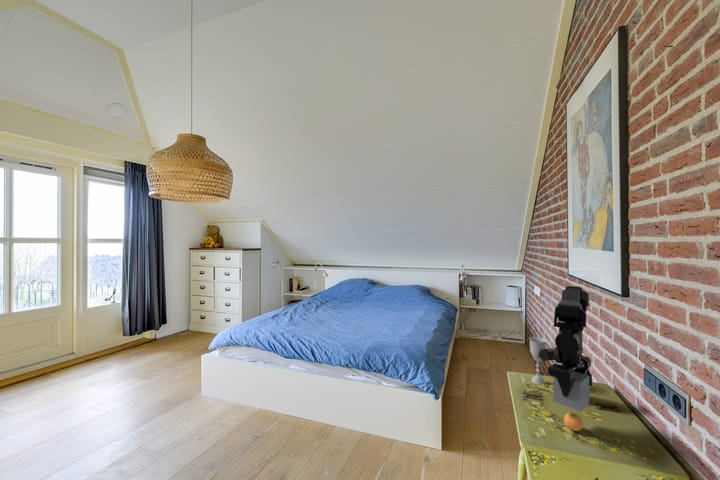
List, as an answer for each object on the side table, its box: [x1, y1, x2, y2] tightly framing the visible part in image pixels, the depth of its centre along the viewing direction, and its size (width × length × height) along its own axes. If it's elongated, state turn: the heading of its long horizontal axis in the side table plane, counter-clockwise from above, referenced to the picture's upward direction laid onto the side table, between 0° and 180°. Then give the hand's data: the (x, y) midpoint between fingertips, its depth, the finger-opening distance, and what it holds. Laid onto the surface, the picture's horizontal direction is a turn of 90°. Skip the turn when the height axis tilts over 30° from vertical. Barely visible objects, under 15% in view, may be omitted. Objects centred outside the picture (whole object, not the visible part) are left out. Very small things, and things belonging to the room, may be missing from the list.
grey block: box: [552, 371, 590, 412], centre depth 99 cm, size 7×7×9 cm
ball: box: [563, 412, 584, 432], centre depth 99 cm, size 5×5×5 cm
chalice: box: [528, 336, 548, 386], centre depth 132 cm, size 7×7×18 cm
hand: (570, 392), depth 99 cm, fingers closed on grey block, 7 cm apart
